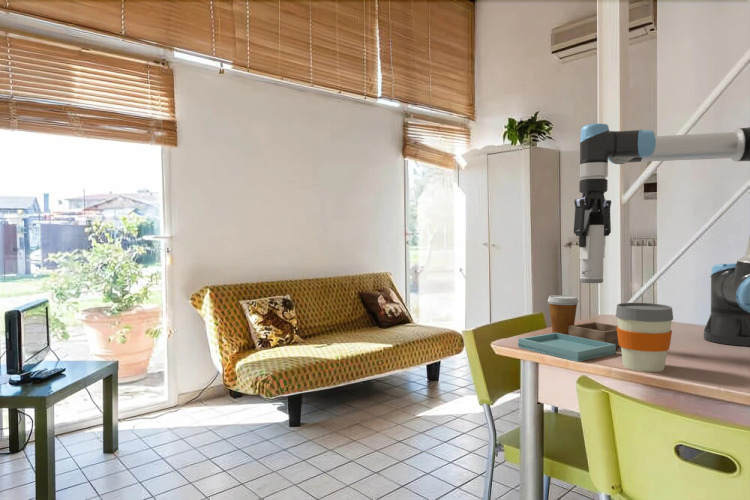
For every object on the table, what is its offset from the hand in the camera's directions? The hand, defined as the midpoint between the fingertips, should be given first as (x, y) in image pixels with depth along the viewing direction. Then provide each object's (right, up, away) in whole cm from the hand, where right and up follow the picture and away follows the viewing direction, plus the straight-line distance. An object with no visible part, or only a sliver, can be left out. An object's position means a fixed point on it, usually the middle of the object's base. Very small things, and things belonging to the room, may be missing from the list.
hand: (592, 258), depth 151 cm
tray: (-10, -26, -6) cm, 28 cm away
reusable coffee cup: (+3, -26, -24) cm, 36 cm away
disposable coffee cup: (-2, -25, +18) cm, 31 cm away
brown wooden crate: (+3, -25, +2) cm, 26 cm away
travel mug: (0, -7, 0) cm, 7 cm away
